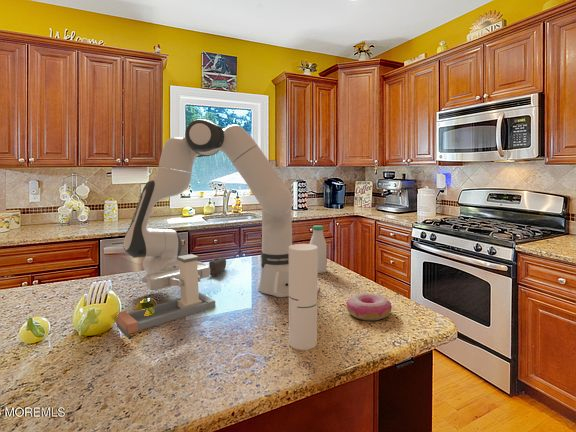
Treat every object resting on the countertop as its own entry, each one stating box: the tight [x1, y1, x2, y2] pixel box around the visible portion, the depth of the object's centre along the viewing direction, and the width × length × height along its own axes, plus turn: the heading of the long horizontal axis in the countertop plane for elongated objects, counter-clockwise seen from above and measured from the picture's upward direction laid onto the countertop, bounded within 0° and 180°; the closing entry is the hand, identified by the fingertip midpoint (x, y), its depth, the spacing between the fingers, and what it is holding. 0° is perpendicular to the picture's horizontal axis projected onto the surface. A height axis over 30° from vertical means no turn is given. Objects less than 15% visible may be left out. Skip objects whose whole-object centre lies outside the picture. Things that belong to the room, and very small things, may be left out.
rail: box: [115, 291, 216, 340], centre depth 101 cm, size 26×10×4 cm, turn 133°
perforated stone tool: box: [208, 256, 227, 277], centre depth 146 cm, size 15×5×7 cm, turn 168°
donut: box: [346, 292, 393, 321], centre depth 104 cm, size 14×13×5 cm
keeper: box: [177, 253, 202, 309], centre depth 105 cm, size 6×6×16 cm
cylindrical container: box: [288, 243, 318, 351], centre depth 85 cm, size 7×7×25 cm
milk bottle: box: [309, 224, 328, 274], centre depth 148 cm, size 8×8×20 cm
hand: (190, 281), depth 104 cm, fingers closed on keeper, 4 cm apart
